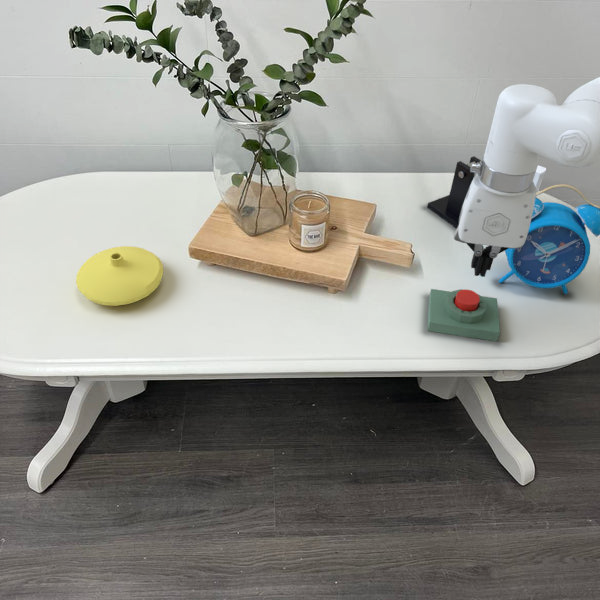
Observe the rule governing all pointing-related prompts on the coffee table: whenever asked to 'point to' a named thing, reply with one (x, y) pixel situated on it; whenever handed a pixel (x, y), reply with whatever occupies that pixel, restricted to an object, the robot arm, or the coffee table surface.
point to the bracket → (455, 194)
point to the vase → (119, 275)
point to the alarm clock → (554, 243)
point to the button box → (463, 316)
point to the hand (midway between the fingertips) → (479, 271)
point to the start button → (467, 300)
